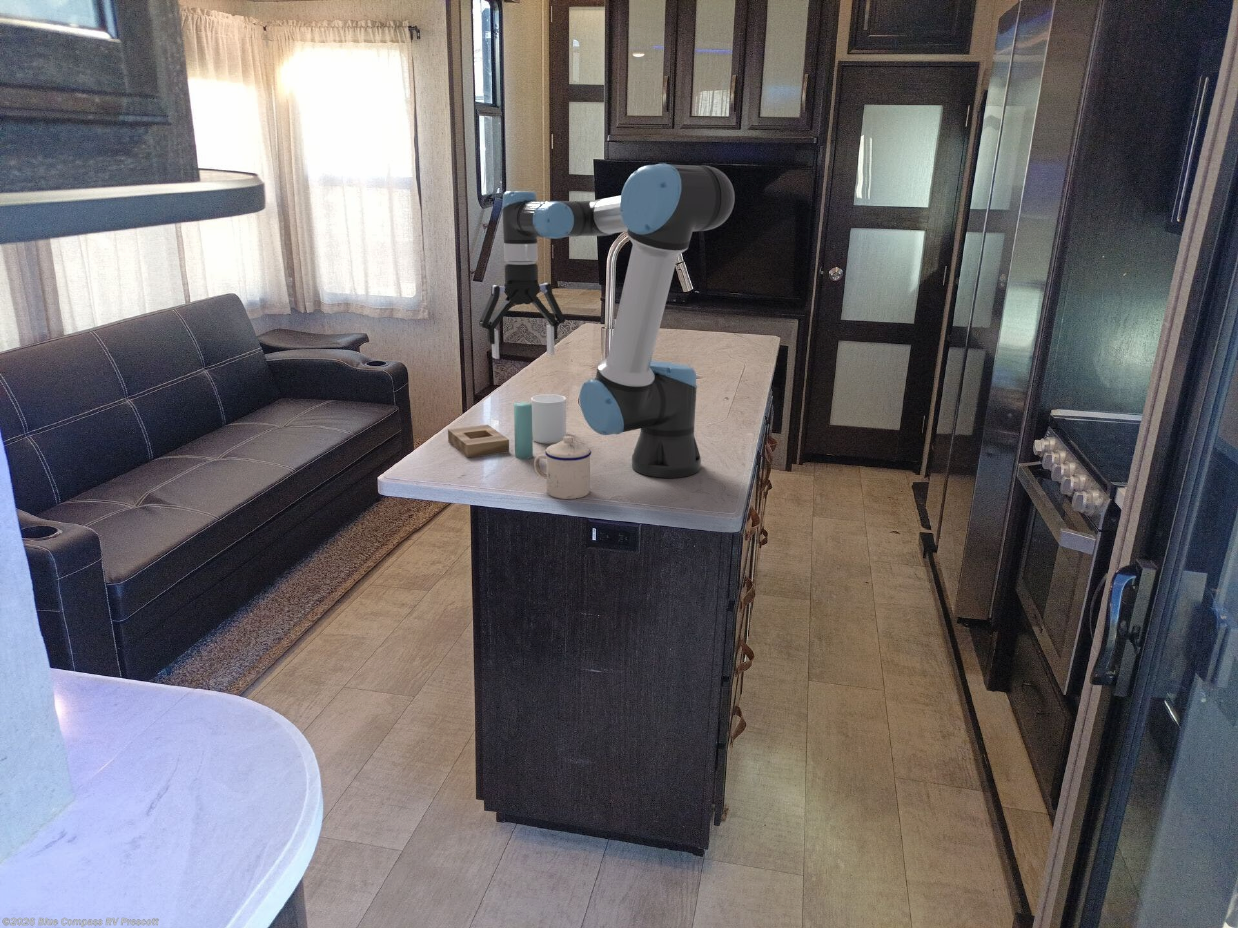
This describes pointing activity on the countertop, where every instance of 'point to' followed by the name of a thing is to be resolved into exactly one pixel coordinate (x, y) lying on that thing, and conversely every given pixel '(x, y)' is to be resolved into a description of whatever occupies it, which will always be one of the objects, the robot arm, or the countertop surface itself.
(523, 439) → the peg
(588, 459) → the teacup with lid
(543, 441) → the cup
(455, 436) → the socket
